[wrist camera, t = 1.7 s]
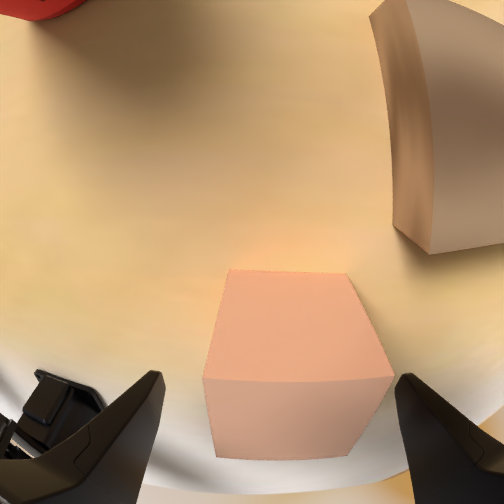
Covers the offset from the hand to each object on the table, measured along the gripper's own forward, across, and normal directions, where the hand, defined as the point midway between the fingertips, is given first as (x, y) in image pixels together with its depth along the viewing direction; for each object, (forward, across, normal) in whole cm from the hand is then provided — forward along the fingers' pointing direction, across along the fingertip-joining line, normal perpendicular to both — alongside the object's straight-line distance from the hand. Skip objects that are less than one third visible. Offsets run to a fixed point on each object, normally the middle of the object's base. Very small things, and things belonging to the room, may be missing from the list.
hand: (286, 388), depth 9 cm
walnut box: (+4, -8, -10) cm, 14 cm away
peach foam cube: (+4, 0, 0) cm, 4 cm away
